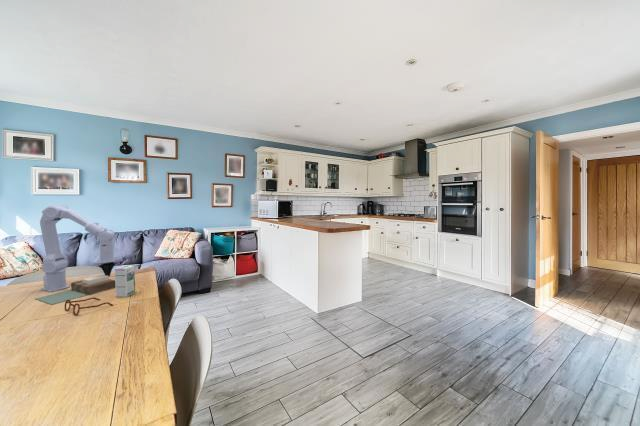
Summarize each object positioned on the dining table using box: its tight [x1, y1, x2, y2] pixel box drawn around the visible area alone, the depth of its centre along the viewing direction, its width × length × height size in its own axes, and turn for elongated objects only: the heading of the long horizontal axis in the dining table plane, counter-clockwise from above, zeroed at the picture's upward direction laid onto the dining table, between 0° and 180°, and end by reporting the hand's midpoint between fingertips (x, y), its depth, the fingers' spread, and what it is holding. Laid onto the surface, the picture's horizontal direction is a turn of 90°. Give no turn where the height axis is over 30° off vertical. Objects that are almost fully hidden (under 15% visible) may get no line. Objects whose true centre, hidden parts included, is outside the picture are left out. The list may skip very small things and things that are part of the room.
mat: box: [34, 289, 88, 306], centre depth 125 cm, size 16×13×1 cm
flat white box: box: [81, 274, 110, 284], centre depth 138 cm, size 6×9×2 cm, turn 157°
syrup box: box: [114, 264, 136, 298], centre depth 129 cm, size 6×6×14 cm
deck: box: [70, 278, 116, 296], centre depth 137 cm, size 16×12×4 cm
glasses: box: [64, 297, 114, 316], centre depth 114 cm, size 13×13×5 cm
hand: (107, 276), depth 143 cm, fingers closed
